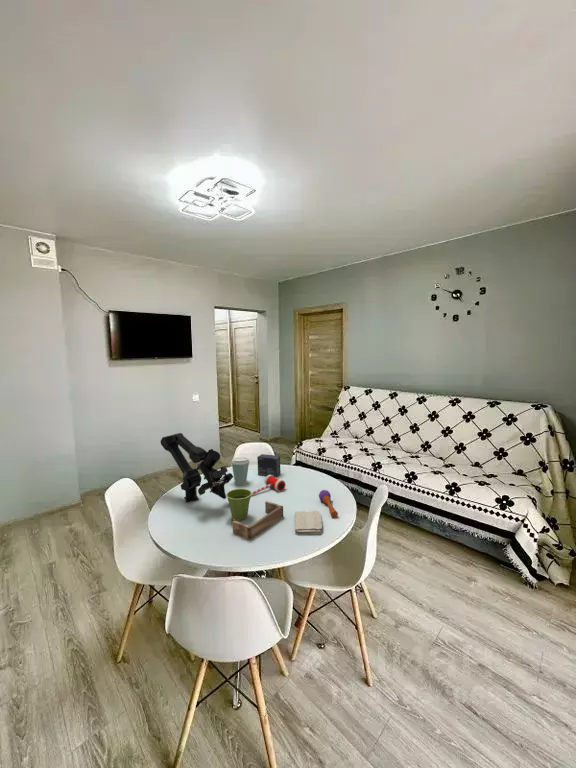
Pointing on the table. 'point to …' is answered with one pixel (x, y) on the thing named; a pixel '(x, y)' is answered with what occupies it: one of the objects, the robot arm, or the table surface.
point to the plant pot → (239, 503)
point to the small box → (268, 465)
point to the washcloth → (308, 523)
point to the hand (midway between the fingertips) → (225, 498)
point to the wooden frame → (259, 522)
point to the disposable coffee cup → (240, 470)
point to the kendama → (328, 502)
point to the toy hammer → (272, 484)
